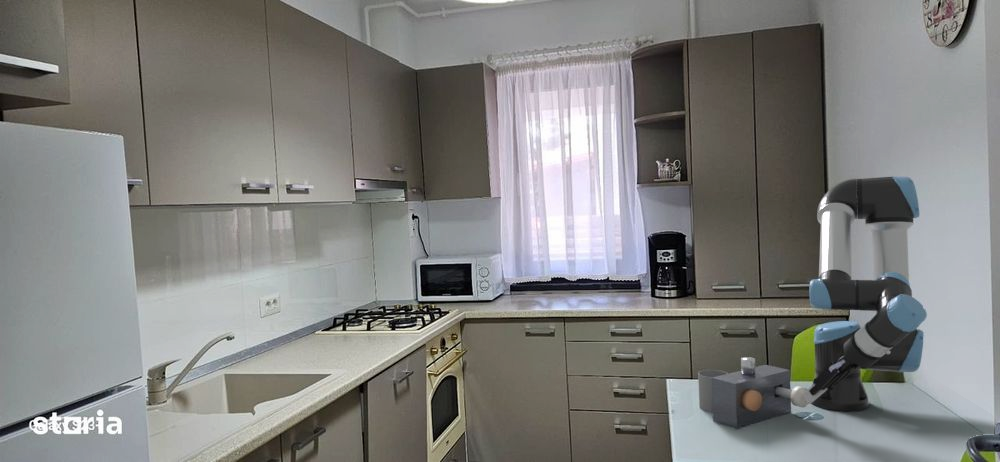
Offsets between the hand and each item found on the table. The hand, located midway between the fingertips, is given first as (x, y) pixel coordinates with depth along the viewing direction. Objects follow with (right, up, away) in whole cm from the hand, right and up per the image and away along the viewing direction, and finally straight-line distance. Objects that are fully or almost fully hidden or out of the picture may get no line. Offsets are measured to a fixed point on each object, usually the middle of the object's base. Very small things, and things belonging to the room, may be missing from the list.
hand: (806, 398), depth 171 cm
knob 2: (-2, -2, +6) cm, 7 cm away
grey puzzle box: (-11, -7, +9) cm, 16 cm away
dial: (-12, +5, +9) cm, 16 cm away
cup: (-18, -7, +18) cm, 27 cm away
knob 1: (-16, -3, +5) cm, 17 cm away
